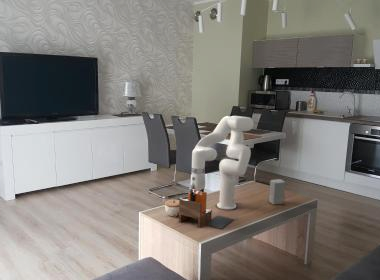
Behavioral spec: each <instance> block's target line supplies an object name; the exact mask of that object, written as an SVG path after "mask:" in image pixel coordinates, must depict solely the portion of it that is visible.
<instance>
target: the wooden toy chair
mask: <svg viewBox="0 0 380 280" xmlns="http://www.w3.org/2000/svg"><path fill="white" fill-rule="evenodd" d="M178 200H179V214H178V222H179V223H182V222H184V221H186V220H187V219H188V218H193V219H197V227H198V228H202V227H203V226H204V225H206V224H207V223H209V222H210V221H211V220H212V218H213V217H212V216H213V215H212V213H213V210H212V209H209V208H206V211H204V212H203V213H201V208H202V203H198V202H194V201H189V200H188V199H185V198H181V197H180V198H179V199H178Z"/></svg>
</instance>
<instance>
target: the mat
mask: <svg viewBox="0 0 380 280" xmlns="http://www.w3.org/2000/svg"><path fill="white" fill-rule="evenodd" d="M233 221H234V218H229V217H225V216H221V215H217V216H216V217H214V218H213V219H211V220H210V221H209V222H207V223H206V224H205V226H208V227H211V228H215V229H220V230H222V229H224V228H225V227H226V226H227V225H229V224H230V223H231V222H233Z"/></svg>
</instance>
